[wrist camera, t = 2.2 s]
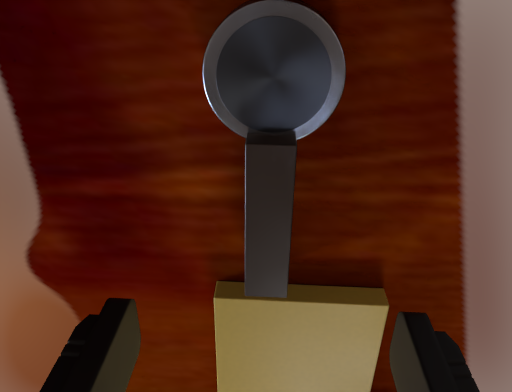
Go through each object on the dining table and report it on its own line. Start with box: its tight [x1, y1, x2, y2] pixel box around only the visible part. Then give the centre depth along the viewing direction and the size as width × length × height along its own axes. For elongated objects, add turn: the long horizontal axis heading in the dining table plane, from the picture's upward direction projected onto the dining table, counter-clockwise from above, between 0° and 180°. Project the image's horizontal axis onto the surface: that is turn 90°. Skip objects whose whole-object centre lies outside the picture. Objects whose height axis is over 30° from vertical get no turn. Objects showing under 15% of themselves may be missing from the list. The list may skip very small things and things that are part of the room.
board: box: [214, 281, 389, 392], centre depth 29 cm, size 16×10×2 cm, turn 179°
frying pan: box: [202, 0, 346, 298], centre depth 20 cm, size 14×6×3 cm, turn 179°
